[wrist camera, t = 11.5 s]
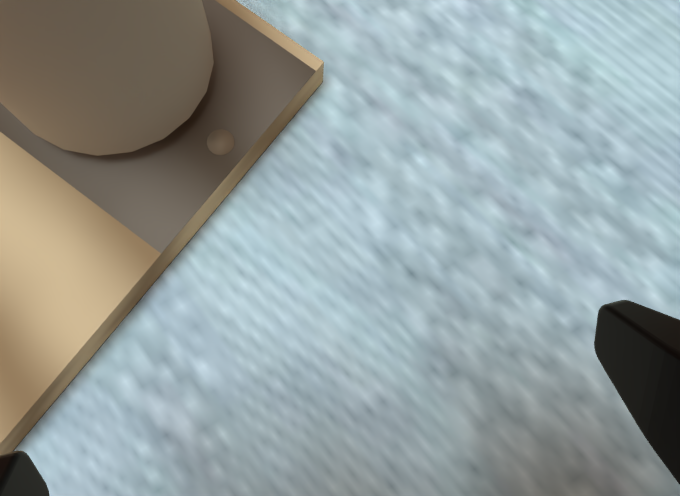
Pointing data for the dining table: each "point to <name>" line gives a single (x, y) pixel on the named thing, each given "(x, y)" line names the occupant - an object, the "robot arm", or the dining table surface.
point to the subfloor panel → (125, 210)
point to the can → (103, 69)
